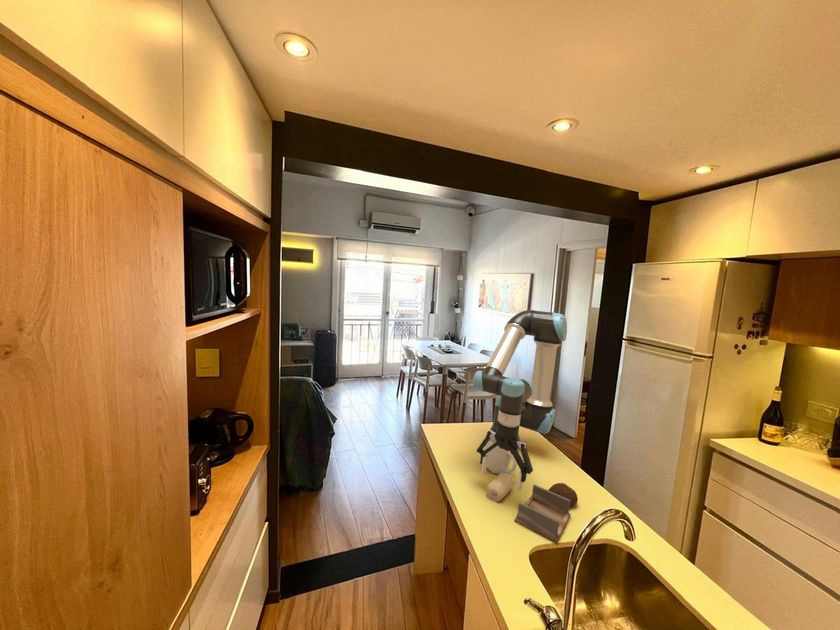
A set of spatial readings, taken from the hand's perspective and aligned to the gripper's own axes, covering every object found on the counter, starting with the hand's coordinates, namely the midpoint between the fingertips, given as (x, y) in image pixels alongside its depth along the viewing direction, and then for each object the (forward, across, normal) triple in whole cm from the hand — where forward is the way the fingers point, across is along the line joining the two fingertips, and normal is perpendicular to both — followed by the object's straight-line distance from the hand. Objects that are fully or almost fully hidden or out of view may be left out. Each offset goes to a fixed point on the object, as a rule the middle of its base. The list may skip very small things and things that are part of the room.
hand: (500, 481), depth 119 cm
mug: (+5, -7, +14) cm, 17 cm away
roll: (+5, 0, 0) cm, 5 cm away
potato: (+5, +18, +12) cm, 23 cm away
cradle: (+5, +16, -2) cm, 17 cm away
